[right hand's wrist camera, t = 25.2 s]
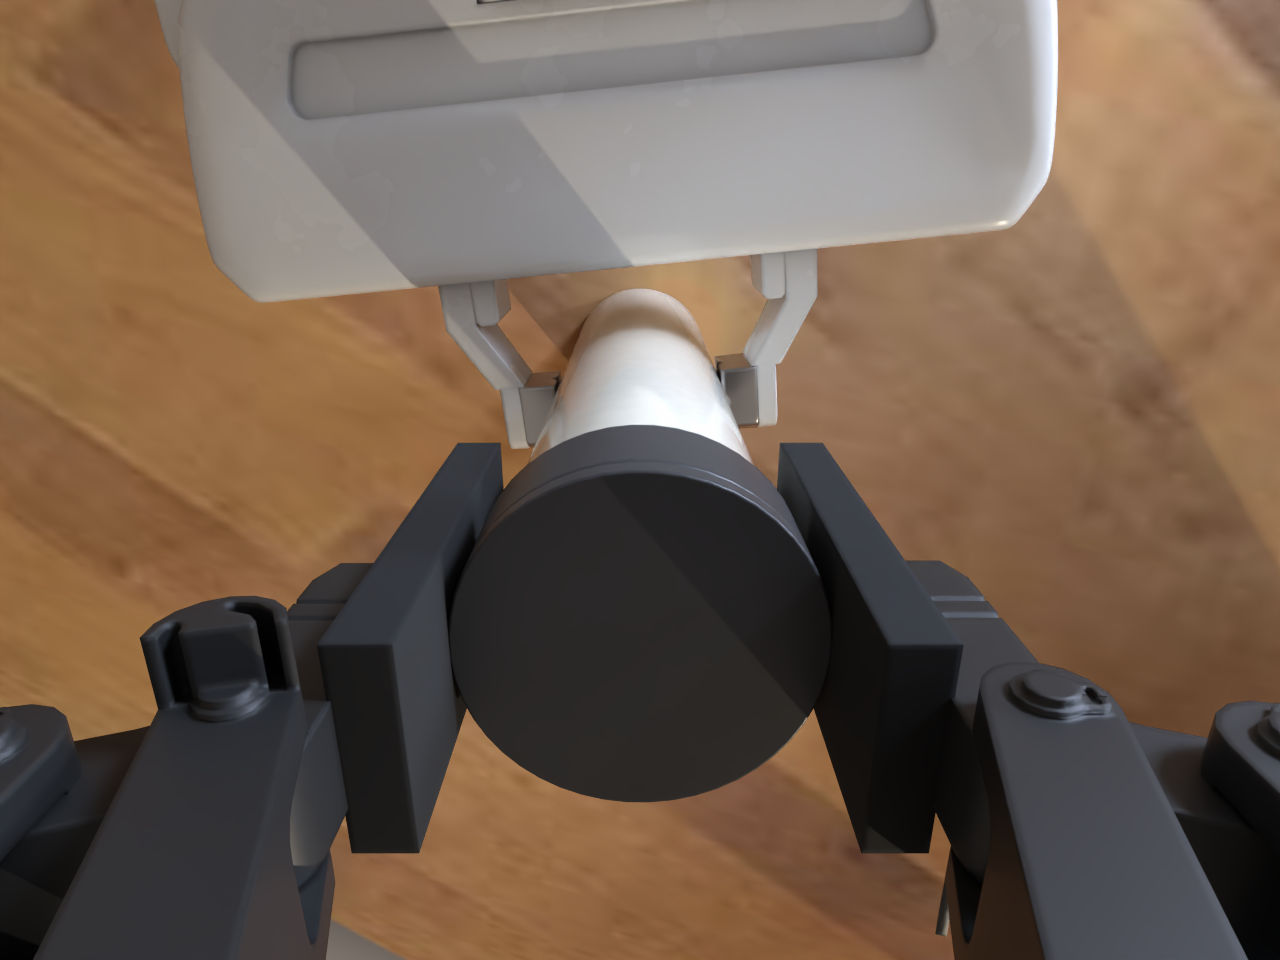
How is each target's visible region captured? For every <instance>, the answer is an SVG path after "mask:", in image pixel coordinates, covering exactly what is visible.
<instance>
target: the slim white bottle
mask: <svg viewBox="0 0 1280 960" xmlns="http://www.w3.org/2000/svg"><path fill="white" fill-rule="evenodd" d="M624 425H658V426H665V427H672V428H678V429H682V430H686V431H689V432H693V433H697V434H700V435H702V436H705V437H707V438H710V439H712V440H714V441H717V442H719V443H721V444H723V445H725V446H726V447H728V448H730V449H732V450H733V451H735V452H737V453H738V454H740V455H741V456H743V457H744V458H745V459H746V460H748V461H749V462H750V463H752V464H753V462H752V460H751V457H750V455H749V452H748V450H747V447H746V445H745V443H744V440H743V438H742V435H741V433H740V430H739V428H738V425H737V423H736V420H735V418H734V415H733V413H732V410H731V408H730V405H729V403H728V400H727V398H726V395H725V393H724V390H723V388H722V385H721V383H720V381H719V378H718V376H717V373H716V371H715V368H714V366H713V363H712V361H711V358H710V356H709V353H708V351H707V348H706V346H705V343H704V341H703V338H702V336H701V333H700V331H699V328H698V326H697V324H696V322H695V320H694V319H693V317H692V315H691V314H690V313H689V312H688V310H687V309H686V308H685V307H684V306H683V305H682V304H681V303H679V302H678V301H677V300H675V299H674V298H672V297H671V296H669V295H666V294H664V293H662V292H659V291H655V290H650V289H630V290H625V291H621V292H619V293H616V294H614V295H612V296H610V297H608V298H606V299H605V300H603V301H602V302H601V303H600V304H598V305H597V306H596V307H595V308H594V309H593V311H592V312H591V313H590V314H589V316H588V317H587V319H586V320H585V322H584V325H583V327H582V329H581V331H580V334H579V336H578V339H577V341H576V344H575V346H574V349H573V351H572V354H571V356H570V359H569V361H568V364H567V366H566V369H565V371H564V374H563V376H562V379H561V381H560V384H559V386H558V389H557V391H556V394H555V396H554V399H553V401H552V404H551V406H550V409H549V411H548V414H547V416H546V419H545V421H544V424H543V426H542V429H541V431H540V434H539V436H538V439H537V441H536V444H535V446H534V449H533V451H532V454H531V456H530V459H529V461H528V464H529V463H530V462H531V461H533V460H534V459H536V458H537V457H538V456H540V455H541V454H542V453H544V452H545V451H547V450H549V449H551V448H553V447H554V446H556V445H558V444H560V443H562V442H564V441H566V440H568V439H571V438H574V437H576V436H579V435H581V434H584V433H587V432H591V431H595V430H599V429H603V428H607V427H615V426H624Z"/></svg>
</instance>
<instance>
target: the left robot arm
mask: <svg viewBox="0 0 1280 960" xmlns="http://www.w3.org/2000/svg"><path fill="white" fill-rule="evenodd" d="M154 1H155V5H156V9H157V12H158V16H159V20H160V23H161V27H162V31H163V35H164V38H165V42H166V44H167V47H168V50H169V52H170V54H171V56H172V58H173V60H174V61H175V63H176V65H177V66H178V68H179V70H180V80H181V90H182V99H183V108H184V116H185V125H186V134H187V140H188V147H189V153H190V159H191V166H192V172H193V178H194V183H195V189H196V194H197V199H198V205H199V209H200V214H201V219H202V223H203V228H204V233H205V237H206V241H207V244H208V248H209V252H210V254H211V257H212V259H213V262H214V264H215V265H216V267H217V268H218V269H219V270H220V271H221V272H222V273H223V274H224V275H225V276H226V277H227V278H228V279H229V280H230V281H231V282H232V283H234V284H235V285H236V286H237V287H238V288H239V289H240V290H241V291H242V292H243V293H245V294H246V295H247V296H248V297H249V298H251V299H252V300H254V301H256V302H260V303H267V302H278V301H289V300H299V299H309V298H319V297H329V296H339V295H350V294H360V293H370V292H380V291H390V290H400V289H411V288H421V287H431V286H438V287H439V292H440V298H441V303H442V309H443V314H444V320H445V325H446V331H447V332H448V333H449V334H450V336H451V337H452V338H453V339H454V341H455V342H456V343H457V344H458V345H459V347H460V348H461V349H462V350H463V351H464V353H465V354H466V355H467V356H468V358H469V359H470V360H471V361H472V362H473V364H474V365H475V366H476V367H477V368H478V370H479V371H480V372H481V373H482V375H483V376H484V377H485V378H486V379H487V381H488V382H489V383H490V384H491V386H492V387H493V388H494V389H495V390H500V393H501V399H502V405H503V411H504V417H505V423H506V429H507V435H508V441H509V444H510V446H511V448H512V449H521V448H529V447H534V446H535V444H536V441H537V439H538V436H539V434H540V431H541V429H542V426H543V424H544V421H545V419H546V416H547V414H548V411H549V409H550V406H551V404H552V401H553V399H554V396H555V394H556V391H557V389H558V386H559V384H560V381H561V373H560V371H554V372H540V373H532V371H531V369H530V368H529V367H528V365H527V364H526V363H525V361H524V360H523V358H522V357H521V356H520V354H519V353H518V352H517V350H516V349H515V348H514V346H513V345H512V344H511V342H510V341H509V339H508V338H507V337H506V335H505V334H504V333H503V331H502V330H501V329H500V327H499V326H498V325H497V323H498V322H499V321H500V320H501V319H502V318H503V317H504V316H505V315H506V314H507V313H508V312H509V311H510V310H511V304H510V297H509V290H508V283H507V279H512V278H522V277H532V276H543V275H553V274H563V273H573V272H583V271H593V270H604V269H614V268H624V267H634V266H644V265H654V264H664V263H675V262H685V261H695V260H705V259H715V258H725V257H736V256H746V255H750V260H751V276H752V286H753V287H754V288H756V289H757V290H758V291H759V292H760V293H761V294H762V295H763V296H764V297H766V298H767V299H768V301H767V303H766V305H765V307H764V309H763V311H762V313H761V315H760V317H759V319H758V321H757V323H756V325H755V327H754V329H753V332H752V334H751V336H750V338H749V340H748V342H747V344H746V346H745V348H744V350H743V353H741V354H732V355H723V356H715V369H716V373H717V376H718V378H719V381H720V383H721V385H722V388H723V390H724V393H725V395H726V398H727V400H728V403H729V405H730V408H731V410H732V413H733V415H734V418H735V420H736V423H737V425H738V428H752V427H763V426H774V425H776V423H777V390H776V364H779V363H781V361H782V359H783V358H784V356H785V354H786V352H787V350H788V349H789V347H790V345H791V343H792V341H793V339H794V338H795V336H796V334H797V332H798V330H799V328H800V327H801V325H802V323H803V321H804V319H805V317H806V316H807V314H808V312H809V310H810V308H811V306H812V305H813V303H814V301H815V299H816V297H817V248H827V247H837V246H847V245H857V244H868V243H878V242H888V241H898V240H908V239H918V238H929V237H939V236H949V235H959V234H969V233H979V232H989V231H999V230H1005V229H1008V228H1010V227H1012V226H1013V225H1014V224H1015V223H1016V222H1017V221H1018V220H1019V219H1020V218H1021V216H1022V215H1023V214H1024V213H1025V212H1026V210H1027V209H1028V207H1029V206H1030V205H1031V203H1032V202H1033V201H1034V199H1035V198H1036V197H1037V195H1038V194H1039V192H1040V191H1041V190H1042V188H1043V187H1044V185H1045V183H1046V181H1047V179H1048V176H1049V173H1050V168H1051V163H1052V157H1053V148H1054V137H1055V123H1056V105H1057V78H1058V17H1057V0H154Z"/></svg>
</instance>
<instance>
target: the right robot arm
mask: <svg viewBox="0 0 1280 960" xmlns="http://www.w3.org/2000/svg"><path fill="white" fill-rule="evenodd" d="M502 491H503V475H502V460H501V445H500V443H458V444H457V445H456V446H455V448H454V449H453V451H452V452H451V454H450V455H449V456H448V458H447V459H446V461H445V462H444V464H443V465H442V466H441V468H440V469H439V471H438V472H437V474H436V475H435V476H434V478H433V479H432V481H431V482H430V484H429V485H428V486H427V488H426V489H425V491H424V492H423V494H422V495H421V496H420V498H419V499H418V501H417V502H416V504H415V505H414V506H413V508H412V509H411V511H410V512H409V514H408V515H407V517H406V518H405V519H404V521H403V522H402V524H401V525H400V527H399V528H398V529H397V531H396V532H395V534H394V535H393V537H392V538H391V539H390V541H389V542H388V544H387V545H386V547H385V548H384V549H383V551H382V552H381V554H380V555H379V557H378V558H377V559H376V561H375V562H374V563H341V564H339V565H337V566H336V567H334V568H332V569H331V570H329V571H327V572H326V573H324V574H322V575H321V576H319V577H317V578H316V579H314V580H313V581H312V582H311V583H310V584H309V586H308V587H307V588H306V589H305V590H304V592H303V593H302V594H301V595H300V596H299V598H298V599H297V603H296V604H293V605H292V606H291V607H290V609H289V610H288V611H287V610H286V608H285V607H284V606H282V605H281V604H280V603H278V602H277V601H275V600H273V599H268V598H263V597H258V596H235V597H226V598H220V599H215V600H210V601H205V602H201V603H198V604H195V605H192V606H190V607H187V608H184V609H181V610H178V611H176V612H174V613H172V614H170V615H169V616H167V617H165V618H163V619H161V620H160V621H158V622H156V623H154V624H153V625H152V626H151V627H150V628H149V629H148V630H147V631H146V632H145V633H144V634H143V635H142V636H141V637H140V641H141V645H142V649H143V653H144V656H145V660H146V664H147V668H148V672H149V676H150V680H151V683H152V687H153V691H154V695H155V699H156V703H157V706H158V711H157V713H156V715H155V717H154V719H153V721H152V723H151V725H150V726H147V727H143V728H139V729H135V730H130V731H125V732H120V733H115V734H110V735H104V736H99V737H94V738H89V739H84V740H79V741H74V740H73V737H72V734H71V731H70V728H69V724H68V721H67V718H66V716H65V715H64V714H62V713H61V712H60V711H58V710H57V709H56V708H54V707H49V706H41V705H34V704H30V705H22V706H13V707H1V708H0V960H326V952H327V944H328V936H329V928H330V920H331V912H332V904H333V896H334V888H335V878H334V871H333V864H332V859H331V853H330V847H331V845H332V843H333V840H334V838H335V836H336V834H337V832H338V830H339V828H340V825H341V823H342V821H343V819H344V817H345V816H346V822H347V828H348V834H349V839H350V845H351V851H352V853H419V852H420V849H421V846H422V843H423V840H424V837H425V833H426V830H427V827H428V824H429V821H430V818H431V815H432V812H433V809H434V806H435V803H436V800H437V797H438V794H439V791H440V788H441V785H442V782H443V779H444V776H445V773H446V770H447V767H448V764H449V761H450V758H451V755H452V752H453V748H454V745H455V742H456V739H457V736H458V733H459V730H460V727H461V724H462V721H463V718H464V715H465V712H466V709H467V707H466V705H465V703H464V701H463V699H462V697H461V694H460V692H459V689H458V687H457V684H456V682H455V679H454V675H453V671H452V666H451V660H450V650H449V640H448V625H449V613H450V609H451V604H452V600H453V596H454V592H455V589H456V587H457V584H458V582H459V579H460V577H461V574H462V571H463V569H464V567H465V565H466V563H467V561H468V558H469V556H470V554H471V552H472V550H473V547H474V545H475V543H476V541H477V539H478V536H479V534H480V532H481V530H482V528H483V525H484V523H485V521H486V519H487V517H488V515H489V513H490V511H491V509H492V507H493V506H494V504H495V502H496V500H497V499H498V497H499V495H500V494H501V493H502ZM777 491H778V492H779V493H780V495H781V496H782V498H783V499H784V501H785V503H786V504H787V506H788V508H789V510H790V512H791V514H792V516H793V518H794V520H795V522H796V524H797V526H798V528H799V531H800V533H801V535H802V537H803V539H804V541H805V544H806V546H807V548H808V550H809V552H810V555H811V557H812V559H813V561H814V564H815V566H816V568H817V570H818V572H819V574H820V576H821V579H822V582H823V585H824V588H825V590H826V593H827V596H828V600H829V605H830V611H831V616H832V645H831V655H830V665H829V670H828V673H827V677H826V681H825V684H824V687H823V689H822V691H821V694H820V696H819V698H818V700H817V703H816V705H815V707H814V711H815V714H816V717H817V720H818V723H819V726H820V729H821V732H822V735H823V738H824V741H825V744H826V747H827V750H828V753H829V756H830V759H831V762H832V765H833V768H834V771H835V774H836V777H837V780H838V783H839V786H840V789H841V793H842V796H843V799H844V802H845V805H846V808H847V811H848V814H849V817H850V820H851V823H852V826H853V829H854V832H855V835H856V838H857V841H858V844H859V847H860V850H861V853H929V848H930V842H931V837H932V831H933V825H934V819H935V813H936V814H937V816H938V818H939V820H940V822H941V825H942V827H943V829H944V831H945V833H946V835H947V837H948V840H949V842H950V844H951V848H950V853H949V859H948V864H947V870H946V875H945V881H944V886H943V892H942V897H941V903H940V909H939V914H938V920H937V927H936V934H937V935H942V936H946V935H947V930H948V924H949V920H950V926H951V934H952V942H953V950H954V958H955V960H1280V704H1279V703H1275V704H1274V703H1265V702H1257V701H1244V702H1236V703H1229V704H1227V705H1225V706H1224V707H1223V708H1221V709H1220V710H1219V711H1217V712H1216V714H1215V717H1214V720H1213V723H1212V727H1211V730H1210V733H1209V736H1208V738H1205V737H1200V736H1195V735H1189V734H1184V733H1179V732H1174V731H1169V730H1163V729H1158V728H1153V727H1148V726H1143V725H1139V724H1136V723H1132V722H1128V720H1127V718H1126V716H1125V714H1124V712H1123V710H1122V708H1121V707H1120V706H1119V705H1118V703H1117V702H1116V701H1115V700H1114V699H1113V697H1112V696H1111V695H1110V694H1109V693H1108V692H1107V691H1105V690H1104V689H1102V688H1101V687H1099V686H1098V685H1096V684H1095V683H1093V682H1092V681H1090V680H1089V679H1087V678H1084V677H1082V676H1079V675H1077V674H1075V673H1072V672H1070V671H1067V670H1065V669H1062V668H1058V667H1053V666H1049V665H1045V664H1040V663H1039V662H1038V661H1037V660H1036V659H1035V658H1034V656H1033V655H1032V654H1031V653H1030V652H1029V650H1028V649H1027V648H1026V647H1025V646H1024V644H1023V643H1022V642H1021V641H1020V640H1019V638H1018V637H1017V636H1016V635H1015V633H1014V632H1013V631H1012V630H1011V629H1010V627H1009V626H1008V625H1007V624H1006V623H1005V621H1004V620H1003V619H1002V618H998V613H997V612H996V611H995V609H994V608H993V607H992V606H991V605H990V603H989V602H988V601H985V600H984V596H983V595H982V594H981V593H980V591H979V590H978V589H977V588H976V586H975V585H974V584H973V583H972V582H971V580H970V579H969V578H968V577H966V576H965V575H963V574H961V573H960V572H958V571H956V570H955V569H953V568H951V567H949V566H948V565H946V564H944V563H943V562H941V561H905V560H904V559H903V557H902V556H901V554H900V553H899V551H898V550H897V549H896V547H895V546H894V544H893V543H892V541H891V540H890V539H889V537H888V536H887V534H886V533H885V531H884V530H883V529H882V527H881V526H880V524H879V523H878V521H877V520H876V519H875V517H874V516H873V514H872V513H871V511H870V510H869V509H868V507H867V506H866V504H865V503H864V501H863V500H862V499H861V497H860V496H859V494H858V493H857V491H856V490H855V489H854V487H853V486H852V484H851V483H850V481H849V480H848V479H847V477H846V476H845V474H844V473H843V471H842V470H841V469H840V467H839V466H838V464H837V463H836V461H835V460H834V459H833V457H832V456H831V454H830V453H829V451H828V450H827V449H826V447H825V446H824V444H823V443H780V452H779V467H778V483H777Z"/></svg>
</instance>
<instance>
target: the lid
mask: <svg viewBox="0 0 1280 960" xmlns="http://www.w3.org/2000/svg"><path fill="white" fill-rule="evenodd" d="M448 640H449V650H450V660H451V666H452V671H453V675H454V679H455V682H456V684H457V687H458V689H459V692H460V694H461V697H462V699H463V701H464V703H465V705H466V707H467V708H468V710H469V712H470V714H471V715H472V717H473V719H474V720H475V722H476V723H477V724H478V726H479V727H480V728H481V729H482V731H483V732H484V733H485V735H486V736H487V737H488V738H489V739H490V740H491V741H492V742H493V743H494V744H495V745H496V746H497V747H498V748H499V749H500V750H501V751H502V752H503V753H504V754H505V755H507V756H508V757H509V758H511V759H512V760H513V761H514V762H516V763H517V764H518V765H519V766H521V767H523V768H524V769H526V770H527V771H529V772H531V773H532V774H534V775H536V776H537V777H539V778H541V779H543V780H545V781H548V782H550V783H552V784H554V785H556V786H558V787H561V788H564V789H567V790H570V791H573V792H576V793H579V794H582V795H586V796H591V797H595V798H600V799H605V800H613V801H622V802H657V801H668V800H675V799H680V798H685V797H690V796H695V795H698V794H702V793H705V792H708V791H711V790H714V789H717V788H720V787H722V786H724V785H727V784H729V783H731V782H733V781H736V780H738V779H740V778H741V777H743V776H745V775H746V774H748V773H750V772H752V771H753V770H755V769H757V768H758V767H760V766H761V765H762V764H764V763H765V762H766V761H768V760H769V759H770V758H772V757H773V756H774V755H775V754H777V753H778V752H779V751H780V750H781V749H782V748H783V747H784V746H785V745H786V744H787V743H788V742H789V741H790V740H791V739H792V738H793V737H794V735H795V734H796V733H797V732H798V730H799V729H800V728H801V727H802V725H803V724H804V723H805V721H806V720H807V718H808V716H809V715H810V713H811V711H812V710H813V708H814V707H815V705H816V703H817V700H818V698H819V696H820V694H821V691H822V689H823V687H824V684H825V681H826V677H827V673H828V670H829V665H830V655H831V645H832V616H831V611H830V605H829V600H828V596H827V593H826V590H825V588H824V585H823V582H822V579H821V576H820V574H819V572H818V570H817V568H816V566H815V564H814V561H813V559H812V557H811V555H810V552H809V550H808V548H807V546H806V544H805V541H804V539H803V537H802V535H801V533H800V531H799V528H798V526H797V524H796V522H795V520H794V518H793V516H792V514H791V512H790V510H789V508H788V506H787V504H786V503H785V501H784V499H783V498H782V496H781V495H780V493H779V492H778V491H777V489H776V488H775V487H774V485H773V484H772V483H771V482H770V481H769V480H768V479H767V477H766V476H765V475H764V474H763V473H762V472H761V471H760V470H759V469H758V468H757V467H755V466H754V465H753V464H752V463H750V462H749V461H748V460H746V459H745V458H744V457H743V456H741V455H740V454H738V453H737V452H735V451H733V450H732V449H730V448H728V447H726V446H725V445H723V444H721V443H719V442H717V441H714V440H712V439H710V438H707V437H705V436H702V435H700V434H697V433H693V432H689V431H686V430H682V429H678V428H672V427H665V426H658V425H624V426H615V427H607V428H603V429H599V430H595V431H591V432H587V433H584V434H581V435H579V436H576V437H574V438H571V439H568V440H566V441H564V442H562V443H560V444H558V445H556V446H554V447H553V448H551V449H549V450H547V451H545V452H544V453H542V454H541V455H540V456H538V457H537V458H536V459H534V460H533V461H531V462H530V463H529V464H527V465H526V466H525V467H524V468H523V469H522V470H521V471H520V472H519V473H518V474H517V475H516V476H515V477H514V478H513V479H512V480H511V481H510V483H509V484H508V485H507V486H506V488H505V489H504V490H503V491H502V493H501V494H500V495H499V497H498V499H497V500H496V502H495V504H494V506H493V507H492V509H491V511H490V513H489V515H488V517H487V519H486V521H485V523H484V525H483V528H482V530H481V532H480V534H479V536H478V539H477V541H476V543H475V545H474V547H473V550H472V552H471V554H470V556H469V558H468V561H467V563H466V565H465V567H464V569H463V571H462V574H461V577H460V579H459V582H458V584H457V587H456V589H455V592H454V596H453V600H452V604H451V609H450V613H449V625H448Z"/></svg>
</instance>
